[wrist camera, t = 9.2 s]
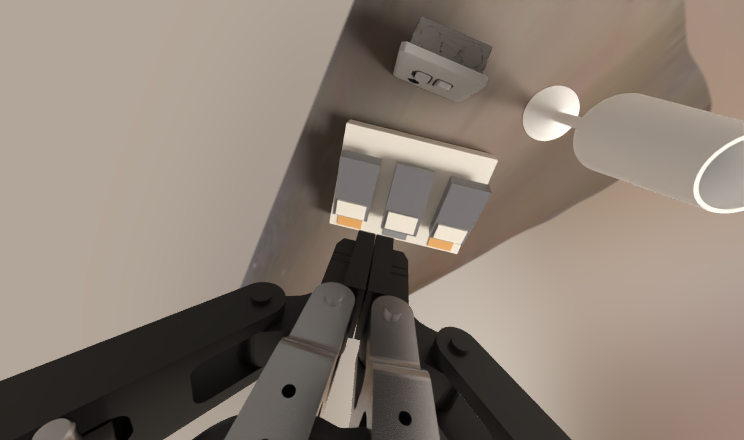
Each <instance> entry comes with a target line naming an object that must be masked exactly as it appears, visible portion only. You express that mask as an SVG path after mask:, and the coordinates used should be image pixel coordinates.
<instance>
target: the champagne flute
mask: <svg viewBox="0 0 744 440" xmlns="http://www.w3.org/2000/svg"><path fill="white" fill-rule="evenodd" d="M579 108H580V107H579V100H578V97H577V95H576V94H575V93H574V92H573V91H572V90H571V89H569V88H568V87H564V86H551V87H548V88H545V89H543V90H541V91H540V92H538V93H537V94H536V95H534V96H533V98H532V99H531V100H530V101H529V103H528V104H527V106H526V108H525V110H524V114H523V126H524V129H525V131H526V133H527V134H528V135H529V136H530V137H532V138H534V139H536V140H540V141H548V140H553V139H556V138H558V137H560V136H562V135H563V134H565V133H566V132H567V131H568V130H569V129H570V128H571V127H573V128H576V130H575V133H574V139H573V149H574V152H575V155H576V157H577V158H578V160H579V161H580V162H581V163H582V164H583V165H584V166H585V167H587V168H589V169H591V170H594V171H597V172H599V173H602V174H605V175H608V176H611V177H614V178H617V179H619V180H622V181H625V182H628V183H631V184H634V185H637V186H640V187H642V188H645V189H648V190H651V191H654V192H656V193H659V194H662V195H665V196H668V197H671V198H674V199H677V200H679V201H682V202H685V203H688V204H691V205H693V206H696V207H699V208H702V209H705V210H708V211H711V212H715V213H733V212H739V211H743V210H744V121H742V120H739V119H735V118H731V117H727V116H723V115H719V114H715V113H712V112H708V111H704V110H700V109H696V108H692V107H689V106H685V105H681V104H677V103H673V102H669V101H665V100H662V99H658V98H654V97H650V96H646V95H642V94H639V93H626V94H620V95H616V96H613V97H610V98H607V99H605V100H603V101H602V102H600V103H598V104H597V105H596V106H594V107H593V108H592V109H590V110H589V111H588V112H587V113H586V114H585V115H584V117H583V118H582V117H578V114H579Z"/></svg>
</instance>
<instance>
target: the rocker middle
mask: <svg viewBox="0 0 744 440" xmlns="http://www.w3.org/2000/svg"><path fill="white" fill-rule="evenodd" d="M435 175H436V173H435V171H434V170H430V169H426V168H422V167H418V166H414V165H410V164H406V163H402V162H398V161H397V164H396V168H395V172H394V176H393V179H392V183H391V187H390V191H389V195H388V199H387V202H386V206H385V210H384V214H383V218H382V222H381V229H385V230H389V231H393V232H397V233H402V234H406V235H410V236H414V237H416V235H417V232H418V229H419V226H420V223H421V220H422V216H423V213H424V210H425V207H426V204H427V201H428V198H429V194H430V191H431V188H432V185H433V182H434V179H435Z"/></svg>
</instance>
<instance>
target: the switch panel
mask: <svg viewBox="0 0 744 440" xmlns="http://www.w3.org/2000/svg"><path fill="white" fill-rule="evenodd" d="M344 149H345V150H349V151H353V152H357V153H361V154H365V155H369V156H373V157H377V158H381V159H382V162H381V166H380V170H379V174H378V178H377V182H376V187H375V191H374V195H373V199H372V203H371V207H370V212H369V216H368V220H367V222H365V221H361V220H357V219H353V218H349V217H344V216H340V215H336V214H332V213H333V205H334V199H333V205H332V211H331V217H330V223H331V224H335V225H339V226H344V227H348V228H352V229H356V230H362V231H366V232H370V233H375V234H379V235H383V236H387V237H392V238H394V239H397V240H401V241H405V242H410V243H414V244H418V245H422V246H426V247H430V248H434V249H438V250H443V251H447V252H451V253H455V254H457V253H458V251H459V248H460V246H461V245H459V244H455V243H451V242H447V241H443V240H439V239H435V238H430V237H429V226H430V224H431V222H432V219H433V217H434V214H435V212H436V210H437V207H438V205H439V203H440V200H441V198H442V195H443V193H444V191H445V188H446V186H447V183H448V181H449V179H450V176H455V177H459V178H463V179H467V180H471V181H475V182H479V183H483V184H488V182H489V180H490V177H491V175H492V173H493V171H494V168H495V166H496V164H497V161H498V160H497V159H496V158H495V157H494V156H493V155H492V154H489V153H485V152H481V151H477V150H473V149H469V148H465V147H460V146H456V145H452V144H448V143H444V142H440V141H436V140H432V139H428V138H424V137H420V136H416V135H412V134H408V133H404V132H400V131H396V130H392V129H388V128H384V127H379V126H375V125H371V124H367V123H363V122H359V121H355V120H351V119H350V120H349V121H348V122H347V123H346V129H345V135H344V141H343V147H342V152H343V150H344ZM342 152H341V154H342ZM397 161H398V162H402V163H406V164H410V165H414V166H418V167H422V168H426V169H430V170H434V171H435V173H436V175H435V179H434V182H433V185H432V188H431V191H430V194H429V198H428V201H427V204H426V207H425V210H424V213H423V216H422V220H421V223H420V226H419V229H418V232H417V235H416V237H414V236H410V235H406V234H402V233H397V232H393V231H389V230H385V229H381V222H382V218H383V214H384V210H385V206H386V202H387V199H388V195H389V191H390V187H391V183H392V179H393V176H394V172H395V168H396V164H397ZM337 177H338V176H337ZM336 184H337V182H336ZM335 191H336V188H335ZM334 198H335V193H334Z"/></svg>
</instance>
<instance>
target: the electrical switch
mask: <svg viewBox="0 0 744 440" xmlns="http://www.w3.org/2000/svg"><path fill="white" fill-rule="evenodd" d="M419 19H420V20H419V21H418V23H417V25H416V28H415V30H414V32H413V35H412V38H411V41H410V43H409V42H401V45H400V49H399V53H398V57H397V60H396V64H395V68H394V72H393V75H394V76H395V77H397V78H399V79H401V80H404V81H406V82H409V83H411V84H413V85H416V86H418V87H421V88H423V89H425V90H428V91H430V92H433V93H435V94H437V95H440V96H442V97H445V98H447V99H449V100H452V101H454V102H458V103H461V102H462V101H464V100H465V99H467V98H469V97H470V96H472V95H473V94H475V93H477V92H478V91H480V90H481V89H483V88H484V87H485V85H486V83H487V81H488V76H486V75H483V74H482V73H483V71H484V69H485V67H486V63H487V59H488V57H489V54H490V52H491V50H492V47H491V46H489V45H487V44H484V43H482V42H480V41H478V40H475V39H473V38H471V37H468V36H466V35H464V34H462V33H459V32H457V31H455V30H452V29H450V28H448V27H446V26H443V25H441V24H439V23H436V22H434V21H432V20H430V19H427V18H425V17H423V16H421V18H419ZM429 25H431V26H429ZM441 43H443V45H442V47H441V48H440V46H441ZM475 44H476V45H475ZM463 49H464V50H463ZM459 50H460V51H459ZM440 51H442V52H440ZM458 51H459V54H458ZM482 53H483V55H482Z"/></svg>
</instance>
